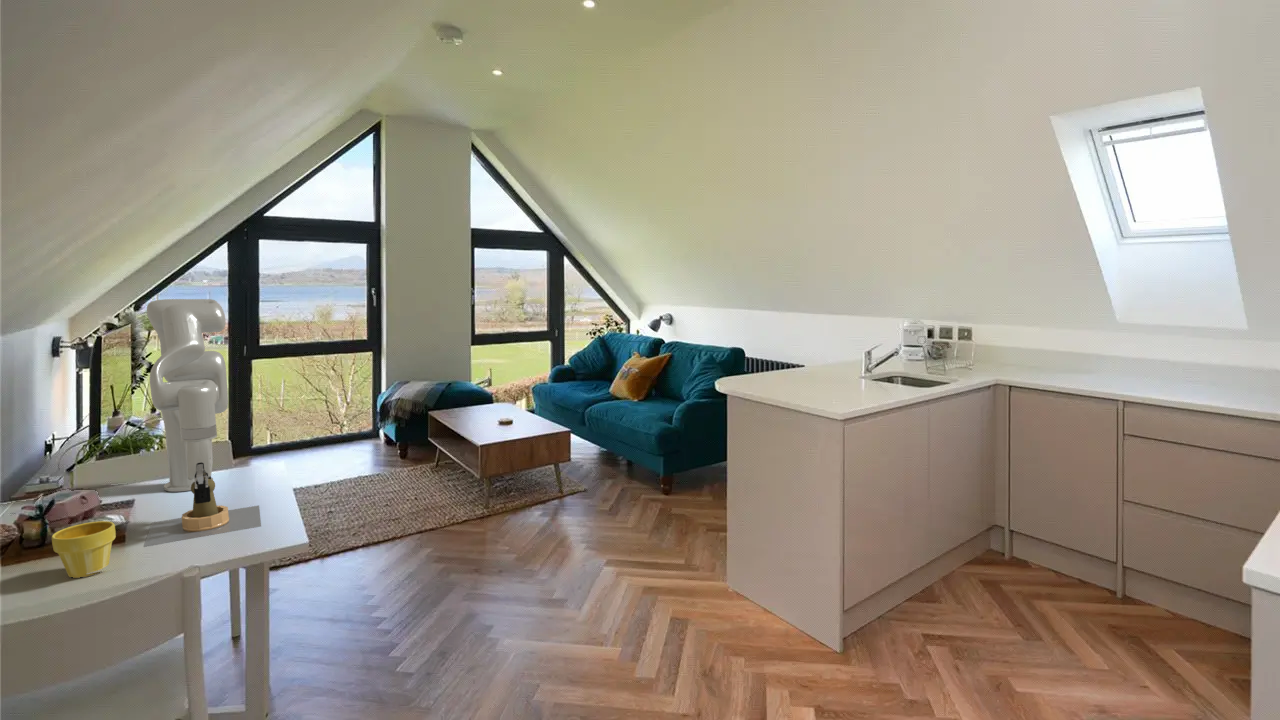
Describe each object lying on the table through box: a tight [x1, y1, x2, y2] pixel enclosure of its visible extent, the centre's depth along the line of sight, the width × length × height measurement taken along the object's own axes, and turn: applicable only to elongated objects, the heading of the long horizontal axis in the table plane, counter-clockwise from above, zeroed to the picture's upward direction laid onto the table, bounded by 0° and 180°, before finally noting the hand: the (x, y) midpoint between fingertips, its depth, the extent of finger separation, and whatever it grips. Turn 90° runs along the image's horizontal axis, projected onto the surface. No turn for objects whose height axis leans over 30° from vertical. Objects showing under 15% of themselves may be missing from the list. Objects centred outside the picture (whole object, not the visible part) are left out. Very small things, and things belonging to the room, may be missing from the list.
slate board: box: [143, 505, 262, 548], centre depth 161 cm, size 18×24×1 cm
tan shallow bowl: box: [181, 505, 229, 532], centre depth 161 cm, size 10×10×3 cm
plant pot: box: [51, 520, 117, 579], centre depth 136 cm, size 10×10×10 cm
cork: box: [190, 479, 218, 518], centre depth 161 cm, size 6×6×11 cm
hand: (203, 496), depth 160 cm, fingers open, 9 cm apart
